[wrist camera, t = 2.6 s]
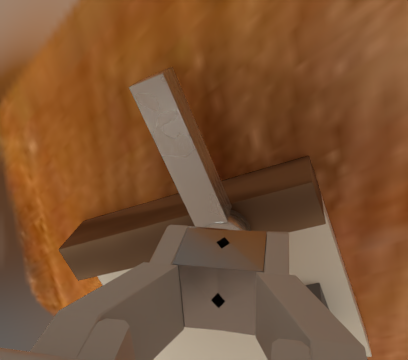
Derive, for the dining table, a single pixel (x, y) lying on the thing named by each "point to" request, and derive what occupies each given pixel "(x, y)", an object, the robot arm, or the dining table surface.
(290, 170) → the jamb
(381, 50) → the dining table surface
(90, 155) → the dining table surface
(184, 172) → the swing bar
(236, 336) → the door leaf
